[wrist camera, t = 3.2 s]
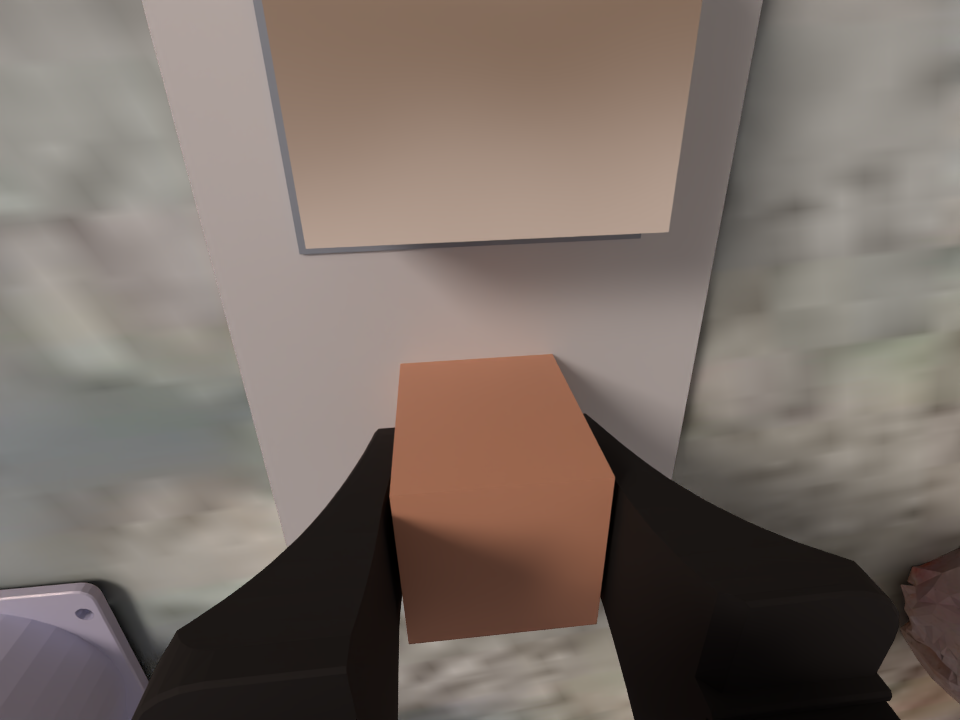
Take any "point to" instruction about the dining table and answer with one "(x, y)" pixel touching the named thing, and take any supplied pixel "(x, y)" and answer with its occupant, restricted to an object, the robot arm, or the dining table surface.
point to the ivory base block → (482, 116)
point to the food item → (936, 619)
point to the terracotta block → (496, 499)
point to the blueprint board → (433, 268)
